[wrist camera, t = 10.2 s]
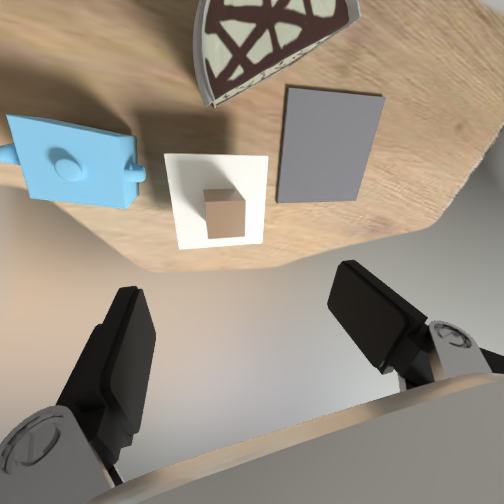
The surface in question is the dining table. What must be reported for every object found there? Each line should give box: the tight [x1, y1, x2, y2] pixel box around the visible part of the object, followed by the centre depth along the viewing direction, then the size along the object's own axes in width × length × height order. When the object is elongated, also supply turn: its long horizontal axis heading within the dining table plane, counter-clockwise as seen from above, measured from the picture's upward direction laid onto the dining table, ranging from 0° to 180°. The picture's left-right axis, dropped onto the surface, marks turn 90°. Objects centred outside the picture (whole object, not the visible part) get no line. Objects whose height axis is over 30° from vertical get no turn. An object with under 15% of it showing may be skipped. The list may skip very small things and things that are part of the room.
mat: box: [277, 88, 386, 203], centre depth 27 cm, size 13×13×1 cm
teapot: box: [0, 114, 146, 209], centre depth 19 cm, size 12×6×8 cm, turn 78°
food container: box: [193, 0, 361, 109], centre depth 16 cm, size 12×6×10 cm, turn 115°
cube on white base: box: [164, 153, 268, 250], centre depth 21 cm, size 10×10×5 cm
